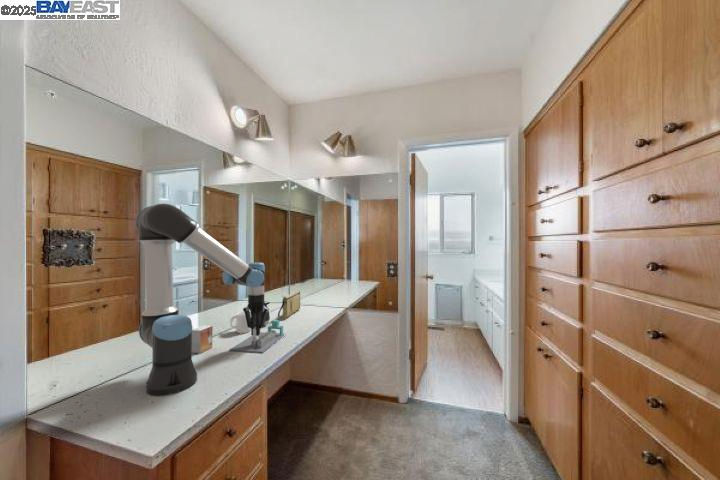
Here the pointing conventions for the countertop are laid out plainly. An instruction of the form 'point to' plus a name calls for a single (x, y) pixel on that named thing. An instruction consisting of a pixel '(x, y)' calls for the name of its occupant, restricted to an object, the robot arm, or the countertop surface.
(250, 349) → the mat
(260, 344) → the tongs base
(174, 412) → the countertop surface
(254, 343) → the swing arm
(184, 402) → the countertop surface
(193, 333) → the small box
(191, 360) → the robot arm
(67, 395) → the countertop surface
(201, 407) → the countertop surface
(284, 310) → the clutch purse
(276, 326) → the lock collar
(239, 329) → the mug
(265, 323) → the pump dispenser
